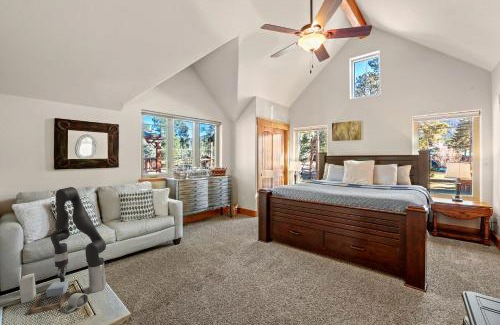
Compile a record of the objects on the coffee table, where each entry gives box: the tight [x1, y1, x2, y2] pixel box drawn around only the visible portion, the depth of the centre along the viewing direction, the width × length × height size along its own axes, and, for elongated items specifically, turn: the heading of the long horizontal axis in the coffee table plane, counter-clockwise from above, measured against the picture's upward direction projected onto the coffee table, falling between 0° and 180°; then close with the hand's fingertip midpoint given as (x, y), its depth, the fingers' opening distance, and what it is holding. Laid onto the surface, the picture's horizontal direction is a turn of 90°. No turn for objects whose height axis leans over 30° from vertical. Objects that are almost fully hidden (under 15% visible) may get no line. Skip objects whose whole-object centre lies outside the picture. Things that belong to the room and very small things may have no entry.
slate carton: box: [45, 280, 69, 298], centre depth 157 cm, size 9×8×5 cm
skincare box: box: [18, 272, 37, 304], centre depth 150 cm, size 8×6×15 cm
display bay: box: [28, 291, 69, 315], centre depth 144 cm, size 15×13×2 cm
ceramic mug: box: [64, 292, 89, 314], centre depth 141 cm, size 11×8×8 cm
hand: (62, 282), depth 166 cm, fingers closed
